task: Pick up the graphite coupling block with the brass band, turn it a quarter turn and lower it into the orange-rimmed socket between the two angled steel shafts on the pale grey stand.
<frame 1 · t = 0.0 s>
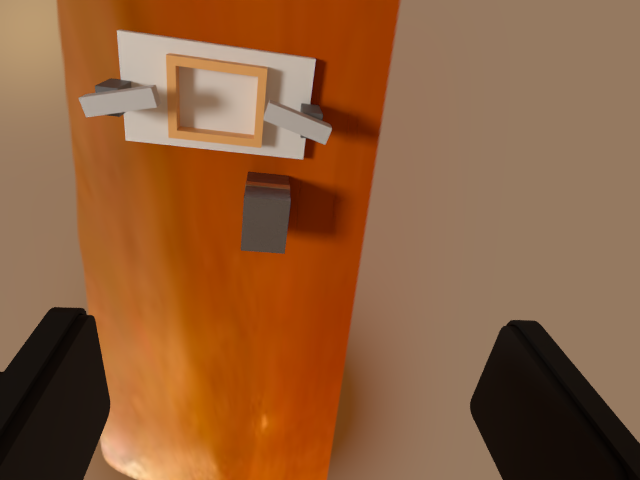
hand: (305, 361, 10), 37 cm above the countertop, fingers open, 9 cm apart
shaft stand: (219, 98, 42), on the countertop
coupling block: (266, 198, 48), on the countertop
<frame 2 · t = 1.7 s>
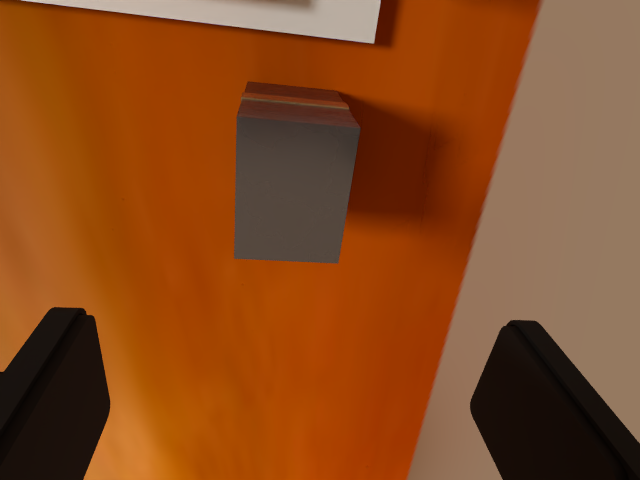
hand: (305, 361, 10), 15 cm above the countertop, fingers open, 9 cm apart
coupling block: (288, 143, 23), on the countertop
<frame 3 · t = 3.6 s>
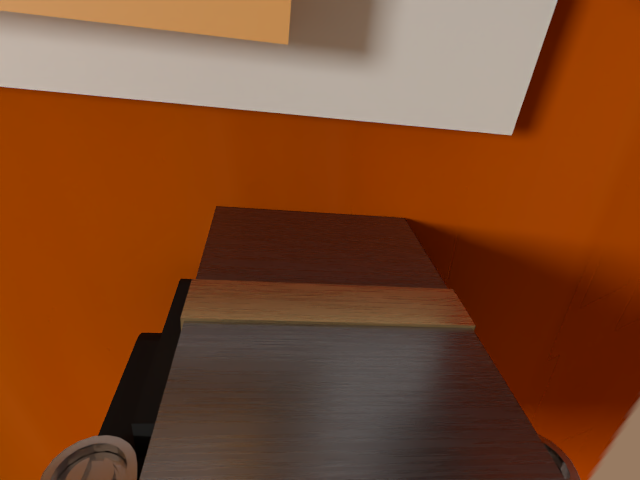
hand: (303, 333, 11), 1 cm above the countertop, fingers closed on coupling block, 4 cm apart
coupling block: (301, 312, 11), on the countertop, touching gripper
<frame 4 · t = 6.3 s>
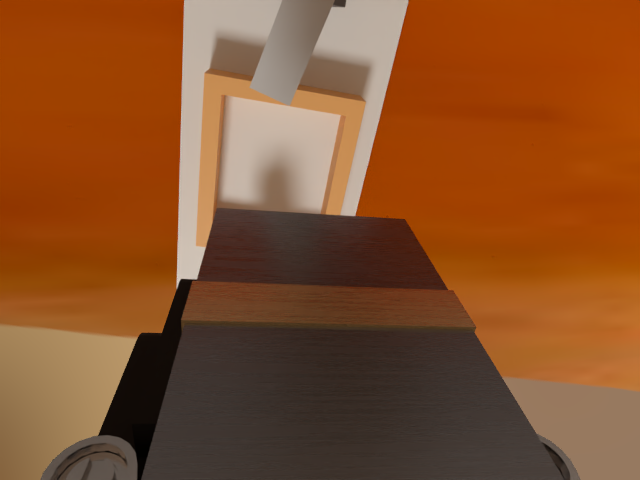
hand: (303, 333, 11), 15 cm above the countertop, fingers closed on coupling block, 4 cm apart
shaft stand: (275, 161, 24), on the countertop
coupling block: (302, 313, 11), point 14 cm above the countertop, touching gripper
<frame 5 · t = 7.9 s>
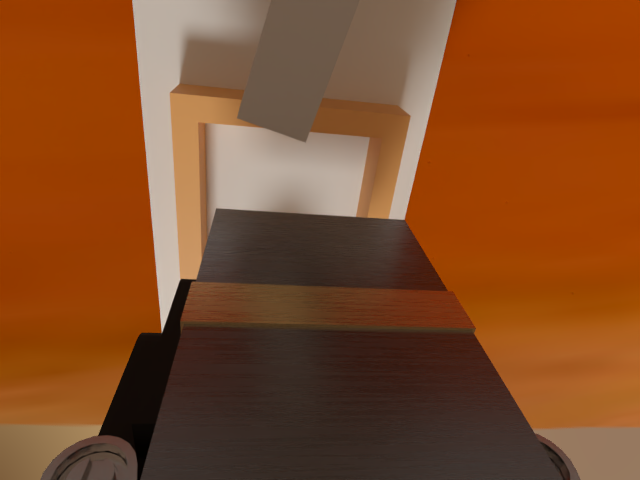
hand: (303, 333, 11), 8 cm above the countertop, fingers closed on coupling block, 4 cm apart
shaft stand: (282, 200, 18), on the countertop
coupling block: (301, 313, 11), point 7 cm above the countertop, touching gripper
when the fingers open (4 cm above the countertop, at t = 9.1 s): coupling block drops 1 cm, resting on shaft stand.
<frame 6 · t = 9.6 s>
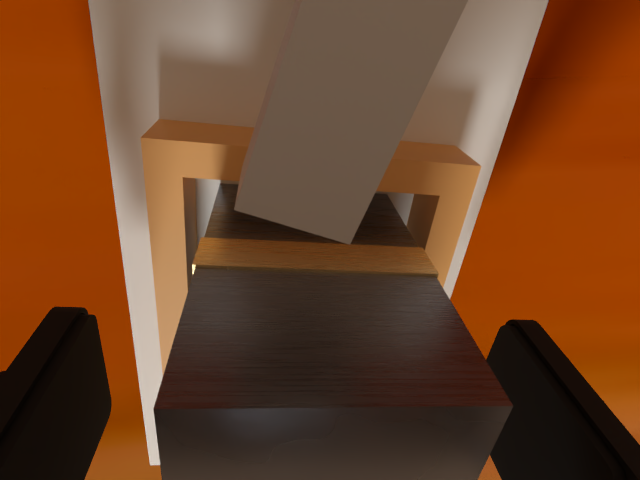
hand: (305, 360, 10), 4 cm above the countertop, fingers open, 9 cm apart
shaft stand: (296, 259, 14), on the countertop
coupling block: (296, 280, 13), point 1 cm above the countertop, touching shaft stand
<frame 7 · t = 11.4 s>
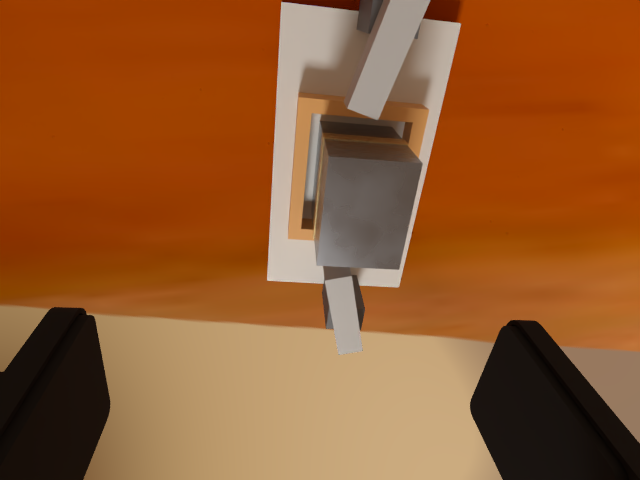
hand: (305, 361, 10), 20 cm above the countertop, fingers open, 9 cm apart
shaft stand: (348, 164, 28), on the countertop
coupling block: (349, 170, 27), point 1 cm above the countertop, touching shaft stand
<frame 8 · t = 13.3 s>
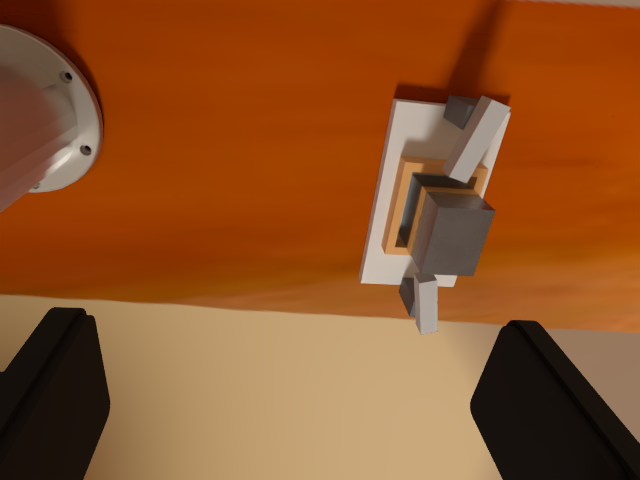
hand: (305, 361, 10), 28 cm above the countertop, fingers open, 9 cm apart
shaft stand: (424, 200, 40), on the countertop
coupling block: (428, 206, 39), point 1 cm above the countertop, touching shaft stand
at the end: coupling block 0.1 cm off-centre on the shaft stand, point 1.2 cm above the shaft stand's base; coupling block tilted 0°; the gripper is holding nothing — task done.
